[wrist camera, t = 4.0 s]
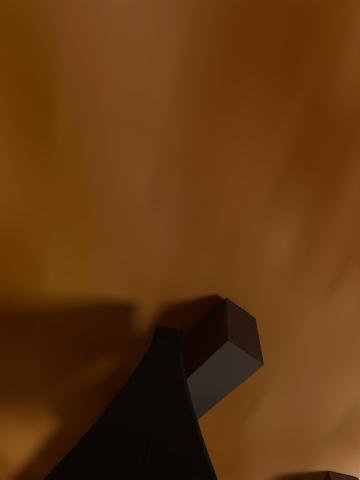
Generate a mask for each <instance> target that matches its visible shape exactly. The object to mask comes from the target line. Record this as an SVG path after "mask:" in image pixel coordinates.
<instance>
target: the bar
mask: <svg viewBox="0 0 360 480" xmlns="http://www.w3.org/2000/svg"><path fill="white" fill-rule="evenodd" d="M181 350H182V358H183V364H184V369H185V374H186V379H187V383H188V387H189V391H190V395H191V399H192V403H193V407H194V410H195V414H196V417H197V420H198V419H199V418H200V417H201V416H203V415H204V414H205V413H206V412H207V411H209V410H210V409H211V408H212V407H213V406H215V405H216V404H217V403H218V402H219V401H221V400H222V399H223V398H224V397H226V396H227V395H228V394H229V393H230V392H232V391H233V390H234V389H235V388H236V387H238V386H239V385H240V384H241V383H242V382H244V381H245V380H246V379H247V378H248V377H250V376H251V375H252V374H253V373H255V372H256V371H257V370H258V369H259V368H261V367H262V366H263V365H264V363H263V357H262V352H261V346H260V341H259V335H258V330H257V324H256V319H255V318H254V317H253V316H252V315H250V314H249V313H247V312H246V311H245V310H243V309H242V308H240V307H239V306H238V305H236V304H235V303H233V302H232V301H230V300H229V299H228V298H226V299H225V300H224V301H223V302H222V303H221V304H220V305H219V306H218V307H217V308H216V309H215V310H214V311H213V312H212V313H211V314H210V315H209V316H208V317H207V318H206V319H205V320H204V321H203V322H202V323H201V324H200V325H199V326H198V327H197V328H196V329H195V330H194V331H193V332H192V333H191V334H190V335H189V336H188V337H187V338H186V339H185V341H184V342H183V343H182V345H181ZM110 404H111V403H110ZM110 404H108V406H109V405H110ZM108 406H107V407H106V409H107V408H108ZM106 409H105V410H106Z"/></svg>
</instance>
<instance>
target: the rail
mask: <svg viewBox="0 0 360 480" xmlns="http://www.w3.org/2000/svg"><path fill="white" fill-rule="evenodd" d="M324 480H359V479H358V478H355V477H351V476H346V475H342V474H337V473H333V472H328V474H327V476H326V478H325V479H324Z"/></svg>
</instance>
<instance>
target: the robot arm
mask: <svg viewBox="0 0 360 480" xmlns="http://www.w3.org/2000/svg"><path fill="white" fill-rule="evenodd" d="M182 335H183V330H178V329H173V328H167V327H162V326H156V330H155V333H154V336H153V340H152V343H151V345H150V347H149V349H148V350H147V352H146V354H145V355H144V357H143V359H142V360H141V362H140V363H139V365H138V366H137V368H136V369H135V371H134V372H133V374H132V375H131V377H130V378H129V380H128V381H127V383H126V384H125V385H124V387H123V388H122V389H121V391H120V392H119V393H118V395H117V396H116V397H115V399H114V400H113V401H112V402H111V404H110V405H109V406H108V408H107V409H106V410H105V411H104V413H103V414H102V415H101V416H100V418H99V419H98V420H97V421H96V422H95V424H94V425H93V426H92V427H91V428H90V430H89V431H88V432H87V433H86V434H85V435H84V437H83V438H82V439H81V440H80V441H79V442H78V443H77V444H76V446H75V447H74V448H73V449H72V450H71V451H70V452H69V453H68V454H67V455H66V457H65V458H64V459H63V460H62V461H61V462H60V463H59V464H58V465H57V466H56V467H55V468H54V469H53V470H52V471H51V472H50V473H49V474H48V475H47V476H46V478H45V479H44V480H218V479H217V476H216V474H215V471H214V468H213V466H212V463H211V460H210V457H209V455H208V452H207V449H206V446H205V443H204V440H203V437H202V434H201V430H200V427H199V424H198V421H197V417H196V414H195V410H194V407H193V403H192V399H191V395H190V391H189V387H188V383H187V379H186V374H185V369H184V364H183V358H182V350H181V345H182Z"/></svg>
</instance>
